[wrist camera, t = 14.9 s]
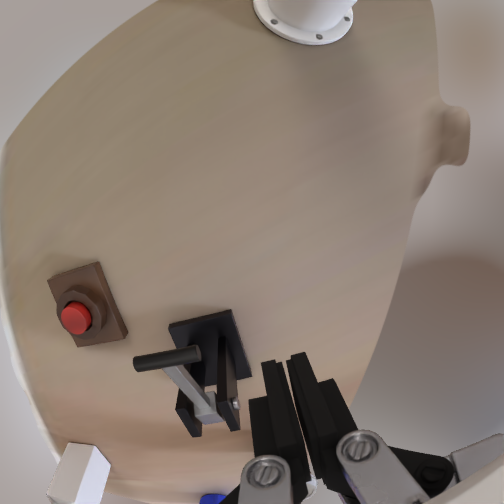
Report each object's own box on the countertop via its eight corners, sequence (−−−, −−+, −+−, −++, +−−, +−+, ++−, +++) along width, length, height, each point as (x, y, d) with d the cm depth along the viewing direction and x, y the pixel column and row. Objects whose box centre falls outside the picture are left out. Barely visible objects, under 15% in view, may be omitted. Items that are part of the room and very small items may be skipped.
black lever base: (169, 323, 35) (147, 390, 22) (231, 309, 35) (234, 374, 22) (195, 383, 37) (189, 453, 25) (251, 371, 37) (262, 442, 25)
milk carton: (95, 444, 40) (69, 519, 22) (111, 464, 42) (92, 535, 24) (68, 441, 40) (40, 509, 22) (85, 461, 42) (63, 526, 23)
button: (63, 304, 30) (56, 310, 28) (84, 298, 30) (78, 304, 28) (74, 329, 31) (69, 336, 29) (96, 325, 31) (91, 332, 29)
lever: (133, 347, 20) (131, 374, 18) (195, 334, 20) (197, 362, 18) (189, 406, 27) (191, 426, 25) (235, 398, 27) (238, 418, 25)
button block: (53, 276, 32) (39, 285, 28) (99, 261, 32) (87, 270, 28) (82, 341, 34) (72, 354, 31) (128, 332, 35) (120, 346, 31)
